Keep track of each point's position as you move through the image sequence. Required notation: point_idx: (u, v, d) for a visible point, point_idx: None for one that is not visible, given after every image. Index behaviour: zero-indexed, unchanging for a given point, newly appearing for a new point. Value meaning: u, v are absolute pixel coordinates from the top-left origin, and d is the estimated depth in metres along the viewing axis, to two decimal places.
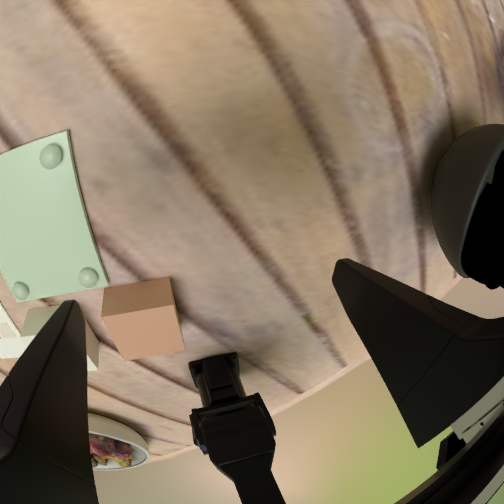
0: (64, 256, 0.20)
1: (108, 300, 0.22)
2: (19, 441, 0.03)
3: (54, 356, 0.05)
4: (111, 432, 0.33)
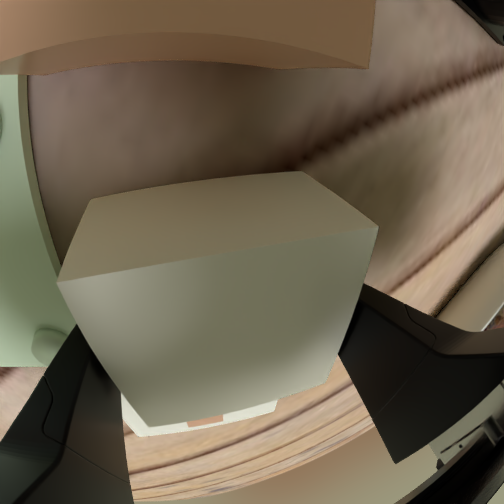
0: None
1: None
2: (65, 446, 0.03)
3: (94, 353, 0.05)
4: None
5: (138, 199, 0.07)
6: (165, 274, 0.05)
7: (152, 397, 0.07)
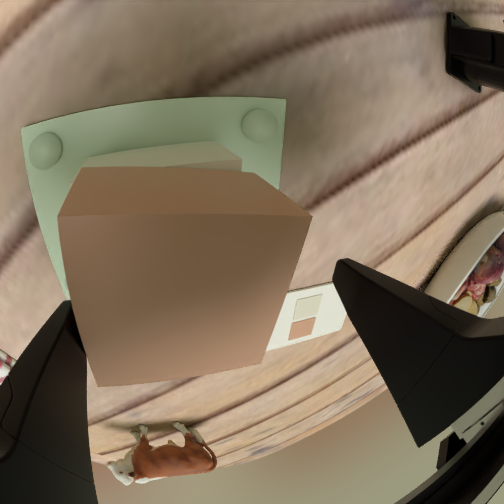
0: None
1: None
2: (18, 441, 0.03)
3: (53, 356, 0.05)
4: (485, 240, 0.24)
5: (114, 156, 0.11)
6: None
7: None
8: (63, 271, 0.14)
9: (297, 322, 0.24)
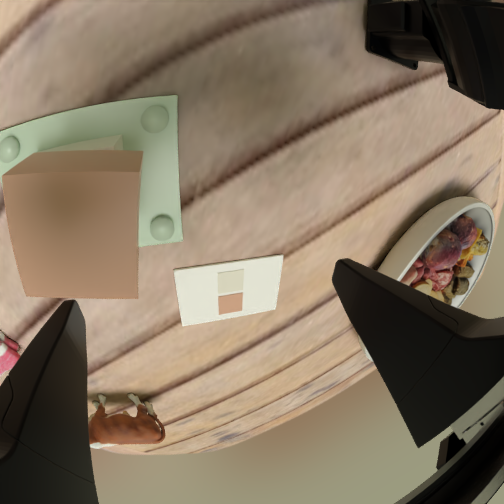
0: None
1: None
2: (19, 441, 0.03)
3: (54, 356, 0.05)
4: (436, 223, 0.26)
5: (50, 150, 0.13)
6: None
7: None
8: None
9: (224, 296, 0.27)
